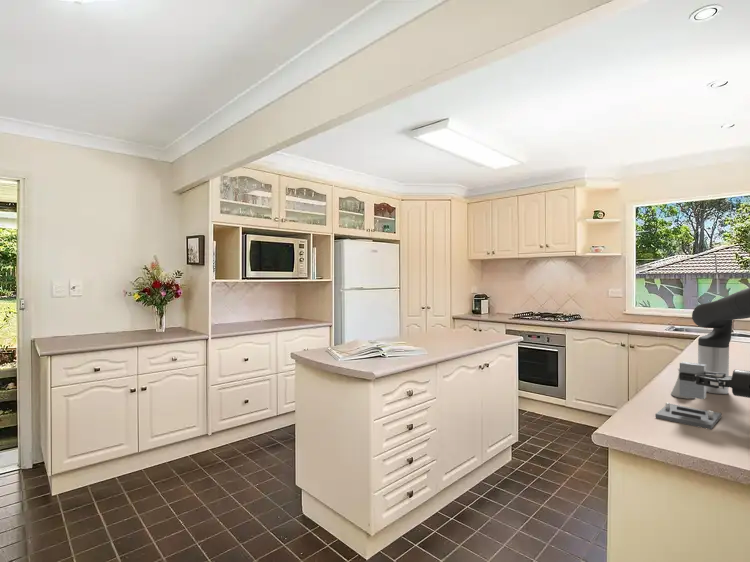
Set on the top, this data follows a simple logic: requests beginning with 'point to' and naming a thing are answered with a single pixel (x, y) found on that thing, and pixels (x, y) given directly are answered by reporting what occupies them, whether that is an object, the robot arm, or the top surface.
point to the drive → (688, 386)
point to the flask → (678, 389)
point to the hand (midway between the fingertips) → (681, 375)
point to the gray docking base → (689, 415)
